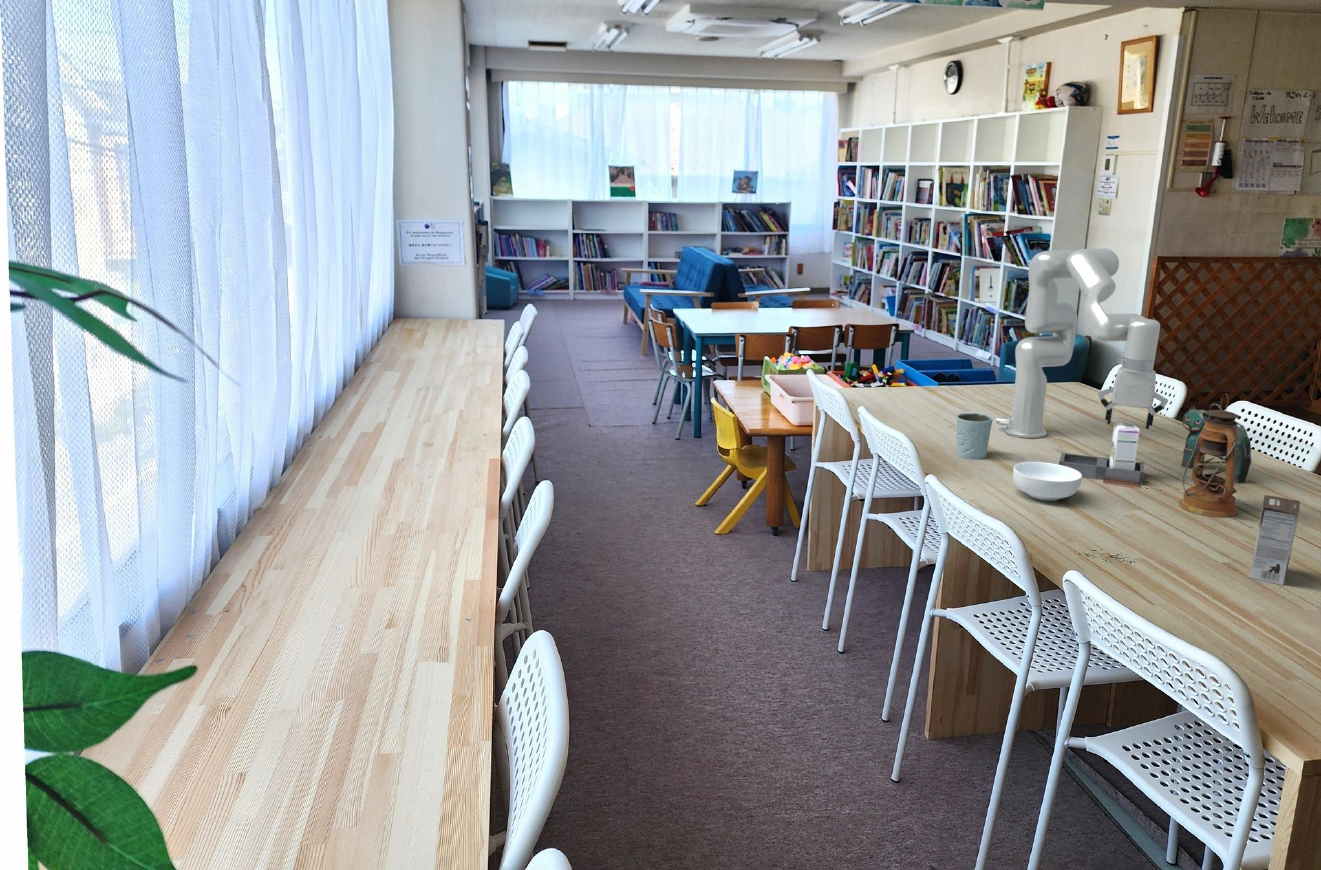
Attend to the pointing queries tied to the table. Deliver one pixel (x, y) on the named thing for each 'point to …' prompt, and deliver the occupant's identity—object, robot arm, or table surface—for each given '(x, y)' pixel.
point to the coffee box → (1274, 539)
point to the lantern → (1209, 489)
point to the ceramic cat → (1195, 424)
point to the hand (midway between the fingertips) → (1127, 425)
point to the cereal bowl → (1046, 480)
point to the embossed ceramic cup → (973, 435)
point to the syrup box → (1124, 446)
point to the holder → (1104, 470)
